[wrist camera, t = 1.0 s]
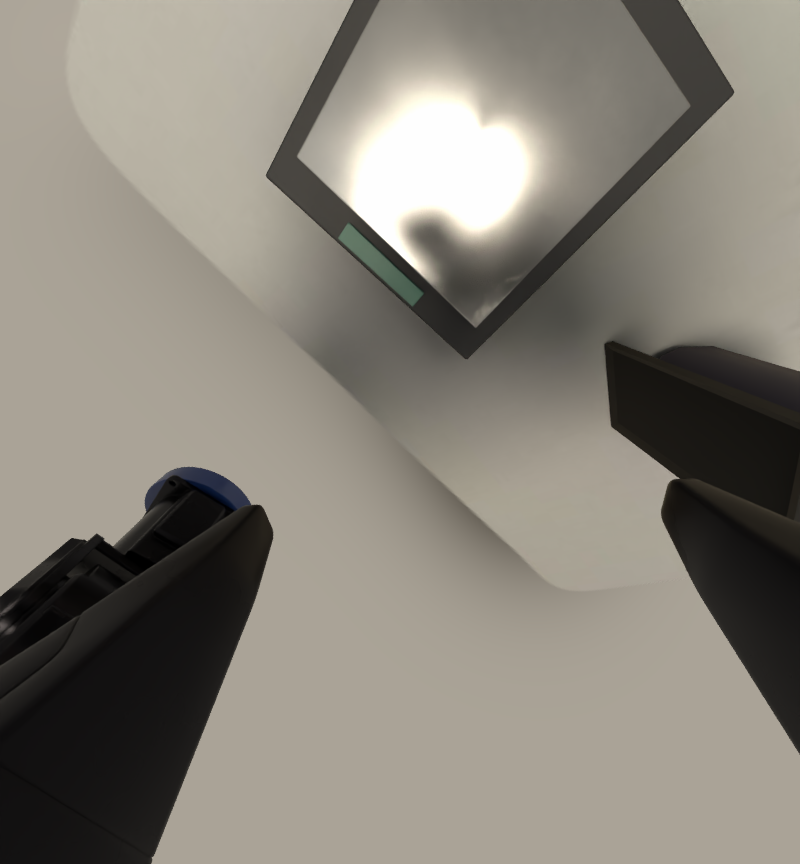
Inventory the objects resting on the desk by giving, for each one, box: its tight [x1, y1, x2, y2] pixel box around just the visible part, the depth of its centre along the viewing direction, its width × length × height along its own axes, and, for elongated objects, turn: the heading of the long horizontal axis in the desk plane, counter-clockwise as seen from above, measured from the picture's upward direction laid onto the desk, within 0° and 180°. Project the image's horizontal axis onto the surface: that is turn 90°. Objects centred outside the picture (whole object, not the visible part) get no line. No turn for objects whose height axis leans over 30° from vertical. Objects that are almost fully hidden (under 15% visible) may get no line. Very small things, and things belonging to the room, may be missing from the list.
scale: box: [266, 0, 734, 359], centre depth 14 cm, size 13×12×3 cm
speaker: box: [605, 341, 800, 523], centre depth 16 cm, size 8×6×10 cm
